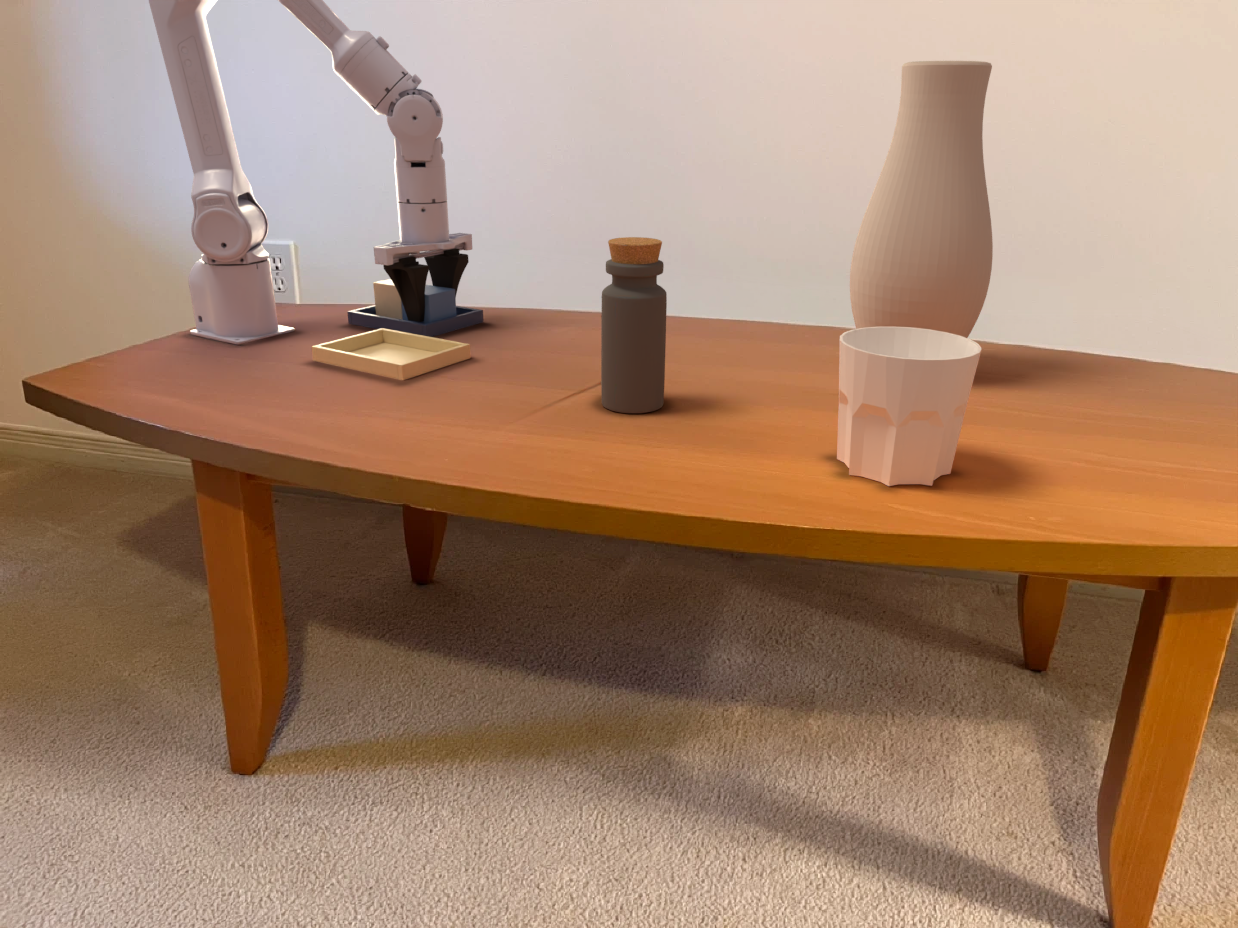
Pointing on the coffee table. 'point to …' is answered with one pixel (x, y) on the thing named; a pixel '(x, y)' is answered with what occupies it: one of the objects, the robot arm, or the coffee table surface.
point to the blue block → (437, 304)
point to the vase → (929, 208)
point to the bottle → (633, 327)
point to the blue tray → (435, 328)
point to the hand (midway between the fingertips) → (430, 317)
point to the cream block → (387, 299)
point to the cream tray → (391, 353)
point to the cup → (902, 401)
